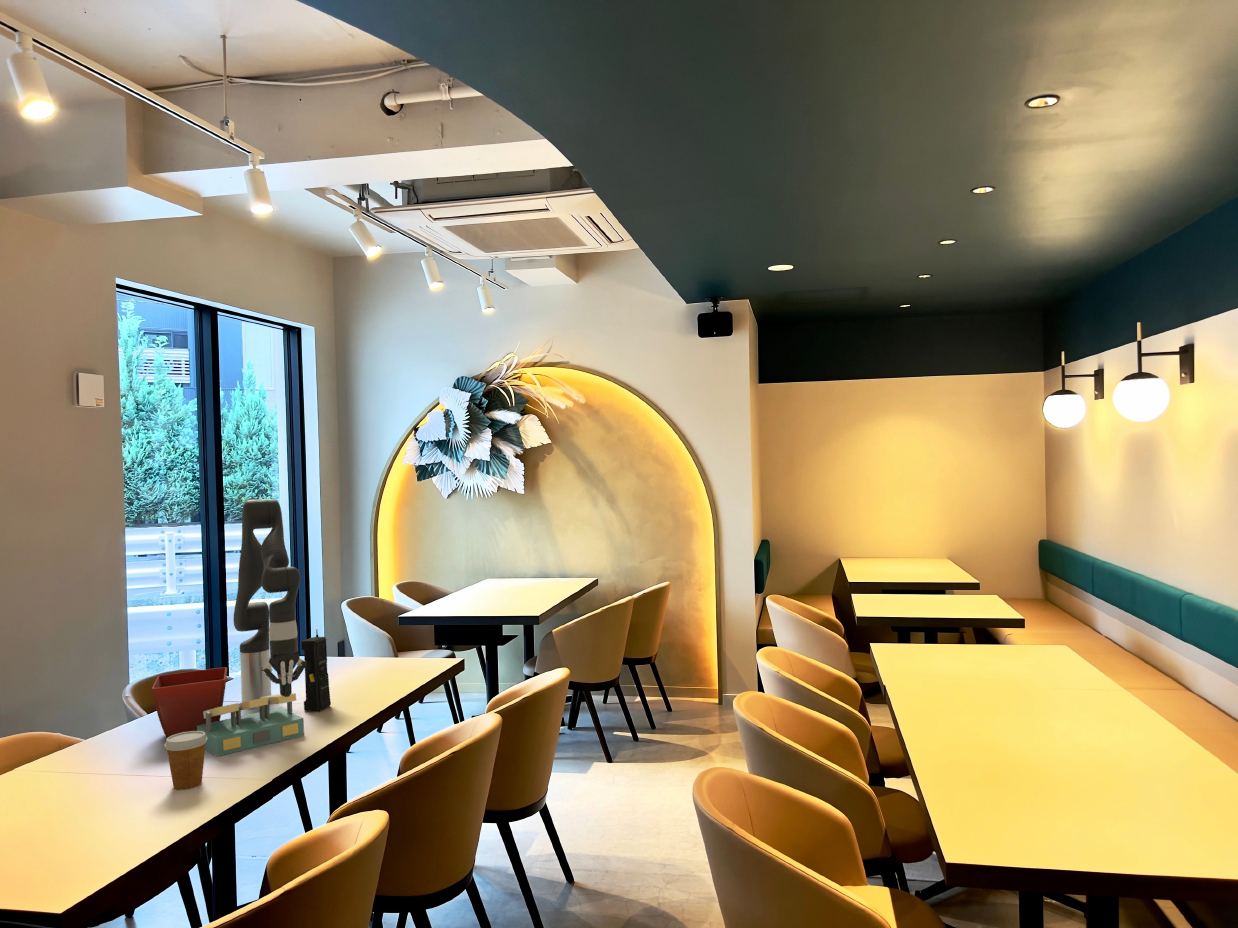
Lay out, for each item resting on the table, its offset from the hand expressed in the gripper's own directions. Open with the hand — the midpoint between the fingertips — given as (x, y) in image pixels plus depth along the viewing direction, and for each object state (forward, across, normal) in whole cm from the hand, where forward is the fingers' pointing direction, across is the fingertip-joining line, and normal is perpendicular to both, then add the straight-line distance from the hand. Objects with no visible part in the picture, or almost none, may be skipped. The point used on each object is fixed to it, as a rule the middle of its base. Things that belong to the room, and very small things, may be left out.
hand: (285, 696), depth 247 cm
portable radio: (+12, -18, -22) cm, 31 cm away
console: (+12, +8, -6) cm, 16 cm away
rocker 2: (+3, +8, -6) cm, 10 cm away
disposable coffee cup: (+12, +32, +20) cm, 39 cm away
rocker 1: (+2, +16, -6) cm, 17 cm away
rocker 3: (+2, 0, -6) cm, 7 cm away
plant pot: (+12, +18, -26) cm, 34 cm away
